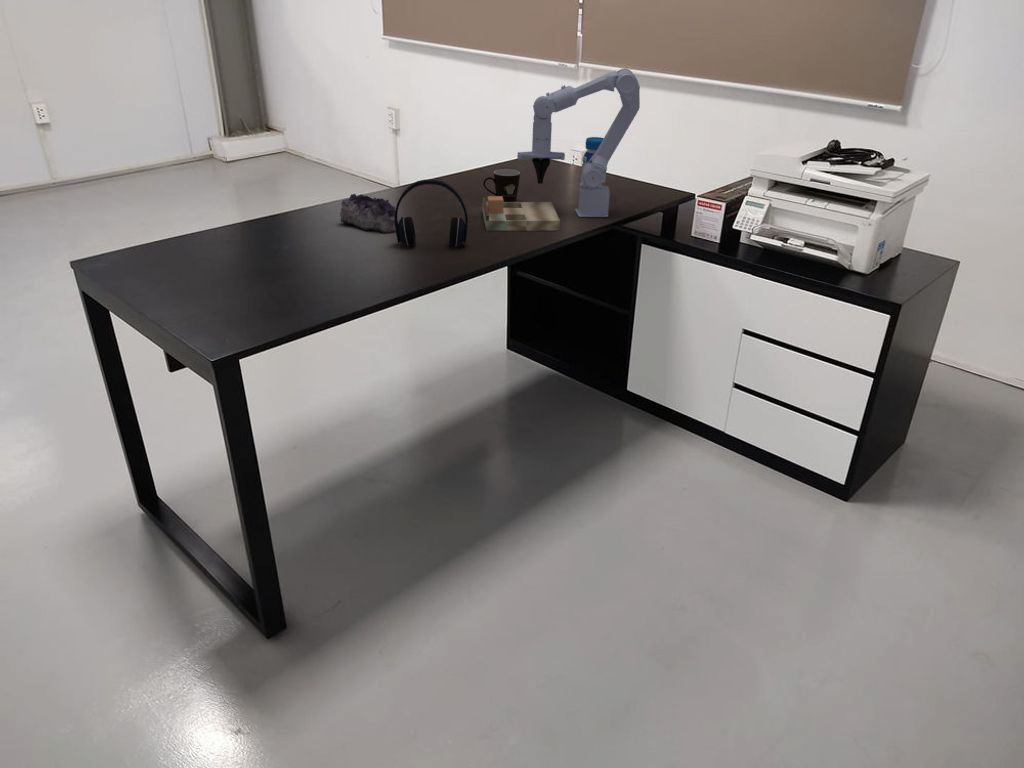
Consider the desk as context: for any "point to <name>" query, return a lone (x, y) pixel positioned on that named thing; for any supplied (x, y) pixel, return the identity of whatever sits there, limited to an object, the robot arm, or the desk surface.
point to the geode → (368, 213)
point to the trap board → (522, 217)
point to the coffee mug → (505, 184)
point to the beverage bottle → (592, 152)
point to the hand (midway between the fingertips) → (539, 182)
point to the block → (495, 204)
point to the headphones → (406, 226)
